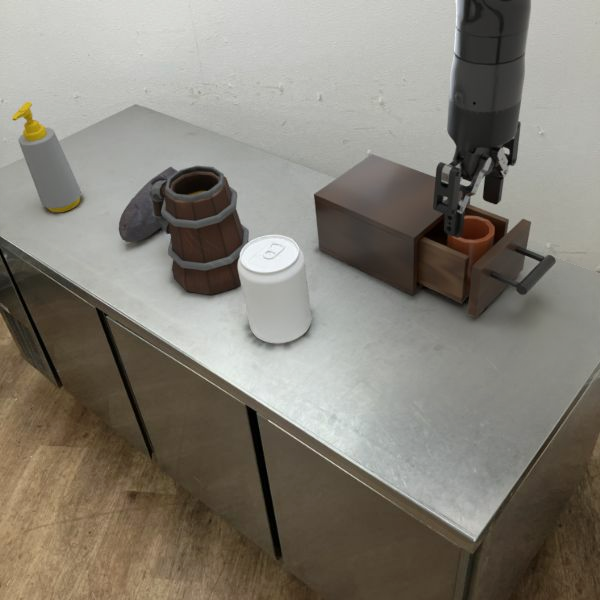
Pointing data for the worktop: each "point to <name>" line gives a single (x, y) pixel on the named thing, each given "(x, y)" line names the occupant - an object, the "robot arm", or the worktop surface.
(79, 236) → the worktop surface
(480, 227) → the cup
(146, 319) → the worktop surface
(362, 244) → the cabinet
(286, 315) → the beverage can
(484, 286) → the drawer
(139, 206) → the perforated stone tool
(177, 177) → the mug
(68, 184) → the soap bottle
